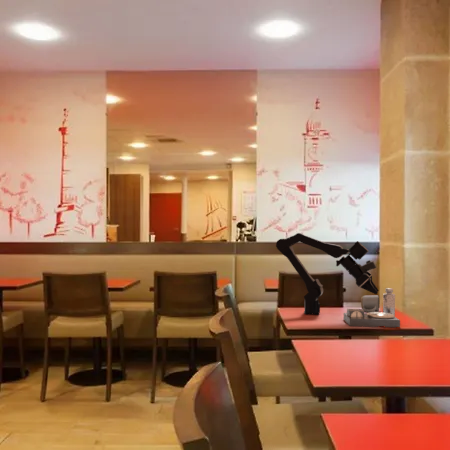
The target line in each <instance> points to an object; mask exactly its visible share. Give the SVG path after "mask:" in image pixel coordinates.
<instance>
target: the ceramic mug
mask: <svg viewBox="0 0 450 450" xmlns="http://www.w3.org/2000/svg"><path fill="white" fill-rule="evenodd" d="M360 299H361V300H360V306H361V309H362V310H363V311H364V313H369V312H380V297H379V295H377V294H373V295H372V294H371V295H362V296H361V298H360Z"/></svg>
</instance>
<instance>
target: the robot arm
mask: <svg viewBox="0 0 450 450" xmlns="http://www.w3.org/2000/svg"><path fill="white" fill-rule="evenodd" d="M298 243H302V244H305V245H308V246H310V247H313V248H315V249H317V250H320V251H322V252H324V253H326V254H327V255H329V256H330V257H332V258H334V259H339V260H336V261H335V262H336V265H335V267H339V266H340V265H341V267H343V268H344V269H345V270H346V271H347V272H348V275H350V276H352V277H353V278H354V280H355V285H356V286H357V287H359V288H360V289H363V290H365V291H367V292H369V293H372V294H373V295H377V294H378V292H379V291H380V290H379V289H378V287H377V286H376V284H375V283H374V281H373V275H372V273H371V272H370V271H371V270H374V269H377V266H376V263H375V262H374V261H375V260H373V261H371V260H370V259H369V260H367V261H365V264H363V265H361V264H360V263H358V262H357V261H356V260H359V261H360V260H362V258H363V257H365V256H366V254H368V253H369V250H368V248H366V246H364V245H362V243H361V242H359V241H356V242H354V244H353V245H352V246H351V247H350V248H344V247H343V246H341V245H340V244H333V243H328V242H324V241H321V240H318V239H316V238H314V237H311V236H309V235H305V234H303V233H302V232H297V233H296V234H294V235H292V236H289V237H286V238H280V239H278V240H277V241H276V243H275V247H276V249H277V250H278V251H279V252H280V253H281V254H282V255H283V256H284V257H286V259H288V261H289V262H290V264H291V265H292V266H293V268H294V270H295V271H296V272H297V274H298V276H300V278H301V279H302V281H303V282H304V285H305V288H306V290H307V293H306V294H305V295H303V299H304V311H303V313H304V314H305V315H316V316H317V315H320V313H321V304H320V302H319V301H320V300H319V299H320V297H321V296H322V295H323V293H324V288H323V286H324V285H323V284H321V282H320V279H318V278H316V279H314V278H313V277H312V276H311V274H310V272H308V270H307V269H306V267H305V266H304V264H303V263H302V261H301V260H300V258H299V257H298V255H296V253H295V251H294V247H293V246H294V245H296V244H298ZM347 254H348V255H347ZM344 255H346V256H344Z"/></svg>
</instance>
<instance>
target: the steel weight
mask: <svg viewBox="0 0 450 450" xmlns="http://www.w3.org/2000/svg"><path fill="white" fill-rule="evenodd" d="M382 299H383V300H382V312H384V313H391V314H394V317H396V293H394V288H391V287H390V288H389V287H386V288H385V293H383V294H382Z"/></svg>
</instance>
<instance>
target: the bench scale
mask: <svg viewBox="0 0 450 450" xmlns="http://www.w3.org/2000/svg"><path fill="white" fill-rule="evenodd" d="M344 320H345V321H346V322H345V321H344ZM343 321H344V322H345V323H346V324H347V325H348V326H349V327H362V326H363V327H365V328H366V327H369V328H371V327H372V328H373V327H374V328H379V327H378V326H385V327H384V328H396V327H400V328H401V320H400V319H399V318H397V317H396V316H395V317H394V314H391V313H384V312H383V311H374V312H365V311H364V310H363V309H362V308H347V309H346V312H343ZM376 326H377V327H376Z"/></svg>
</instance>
